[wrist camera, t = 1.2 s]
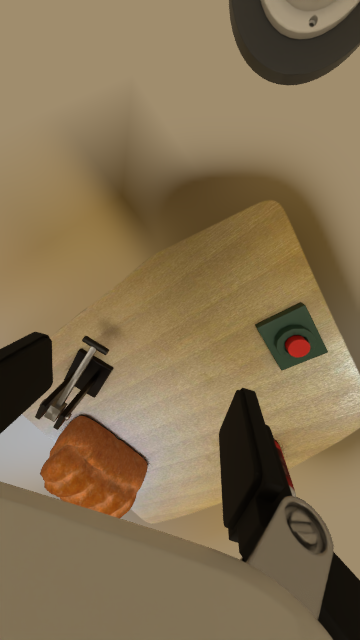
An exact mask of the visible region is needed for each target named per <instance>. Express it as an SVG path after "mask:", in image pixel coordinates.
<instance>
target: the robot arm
mask: <svg viewBox="0 0 360 640" xmlns="http://www.w3.org/2000/svg"><path fill="white" fill-rule="evenodd" d="M359 2H360V0H261V5H262V7H263V10H264V12H265V15H266V17H267V18H268V20H269V21H270V23H271V24H272V26H273V27H274V28H275V29H276V30H277V31H279V32H280V33H281V34H283V35H285V36H287V37H289V38H294V39H310V38H314V37H316V36H319V35H322V34H324V33H326V32H327V31H329V30H331V29H332V28H334V27H335V26H337V25H338V24H339V23H340V22H341V21H343V20H344V19H345V18H346V17H347V16H348V15H349V14H350V13H351V11H352V10H353V9H354V8H355V7H356V6H357V5H358V3H359ZM310 26H311V27H310ZM52 383H53V372H52V341H51V339H50V338H49V336H48V335H46V334H42V333H38V332H33V333H31V334H29V335H27V336H25V337H24V338H21V339H19V340H17V341H15V342H13V343H12V344H10V345H8V346H6V347H4V348H2V349H0V433H1V432H3V431H4V430H5V429H6V428H7V427H8V426H9V425H10V424H11V423H12V422H14V421H15V420H16V419H17V418H18V417H19V416H20V415H21V414H22V413H23V412H25V411H26V410H27V409H28V408H29V407H30V406H31V405H32V404H33V403H34V402H35V401H37V400H38V399H39V398H40V397H41V396H42V395H43V394H44V393H45V392H46V391H47V390H49V388H50V387H51V385H52ZM219 445H220V464H221V484H222V503H223V521H224V526H225V527H226V528H228V531H229V540H231V541H234V542H238V543H239V552H240V554H241V555H242V557H241V559H240V560H239V559H237V558H234V557H232V556H229V555H227V554H225V553H222V552H220V551H217V550H214V549H212V548H209V547H206V546H203V545H200V544H197V543H194V542H191V541H188V540H185V539H182V538H179V537H176V536H173V535H170V534H167V533H164V532H161V531H158V530H155V529H152V528H148V527H145V526H142V525H138V524H135V523H133V522H129V521H126V520H123V519H120V518H117V517H113V516H110V515H107V514H104V513H101V512H98V511H94V510H91V509H88V508H85V507H81V506H78V505H75V504H72V503H68V502H65V501H62V500H59V499H55V498H52V497H49V496H46V495H42V494H39V493H36V492H33V491H29V490H26V489H23V488H20V487H16V486H13V485H10V484H7V483H3V482H0V640H360V580H359V579H358V578H357V577H356V576H355V575H354V574H353V573H352V572H351V571H350V569H349V568H348V567H347V566H346V565H345V564H344V563H343V562H342V561H341V559H340V558H339V557H338V556H337V555H336V554H335V553H334V552H333V542H332V538H331V535H330V533H329V530H328V528H327V526H326V524H325V523H324V521H323V520H322V518H321V517H320V515H319V514H318V513H317V512H316V511H315V510H314V509H313V508H312V507H311V506H310V505H309V504H308V503H306V502H305V501H304V500H302V499H300V498H298V497H294V496H292V493H291V490H290V487H289V484H288V481H287V478H286V475H285V472H284V468H283V465H282V462H281V459H280V456H279V453H278V450H277V447H276V444H275V441H274V438H273V435H272V432H271V430H270V427H269V426H268V425H265V422H264V419H263V416H262V412H261V409H260V406H259V403H258V399H257V396H256V393H255V391H252V390H248V389H245V388H242V389H241V390H237V391H236V393H235V395H234V398H233V400H232V402H231V405H230V407H229V409H228V412H227V414H226V417H225V419H224V421H223V424H222V426H221V429H220V432H219Z"/></svg>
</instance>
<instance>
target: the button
mask: <svg viewBox="0 0 360 640" xmlns="http://www.w3.org/2000/svg"><path fill="white" fill-rule="evenodd" d="M285 348H286V349H287V351H288V352H289V354H290V355H291V356H293V357H303V356H305V355H306V354H307V353H308V352H309V351H310V344H309V343H308V342H307V341H306V339H305V338H304V337H302V336H299V335H295V336H291V337H290V338H288V339H287V340H286V342H285Z"/></svg>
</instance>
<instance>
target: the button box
mask: <svg viewBox="0 0 360 640" xmlns="http://www.w3.org/2000/svg"><path fill="white" fill-rule="evenodd" d="M256 327H257V329H258V331H259V333H260V334H261V336H262V338H263V340H264V341H265V343H266V345H267V346H268V348H269V350H270V352H271V353H272V355H273V357H274V359H275V360H276V362H277V364H278V365H279V367H280V369H281V370H284V369H287V368H289V367H292V366H294V365H297V364H299V363H302V362H305V361H307V360H310V359H312V358H315V357H317V356H320V355H322V354H325V353H327V352H328V351H327V349H326V347H325V345H324V343H323V341H322V339H321V337H320V335H319V332H318V330H317V328H316V326H315V324H314V322H313V320H312V318H311V316H310V314H309V312H308V310H307V308H306V306H305V305H304V304H303V303H299V304H297V305H295V306H293V307H291V308H289V309H287V310H284V311H282V312H280V313H278V314H276V315H274V316H272V317H270V318H268V319H266V320H264V321H262V322H260V323H258V324H256ZM295 335H299V336H302V337H304V338H305V339H306V341H307V342H308V343H309V344H310V351H309V352H308V353H307V354H306V355H305V356H303V357H293V356H291V355H290V354H289V352H288V351H287V349H286V348H285V342H286V340H287V339H288V338H290V337H291V336H295Z"/></svg>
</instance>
